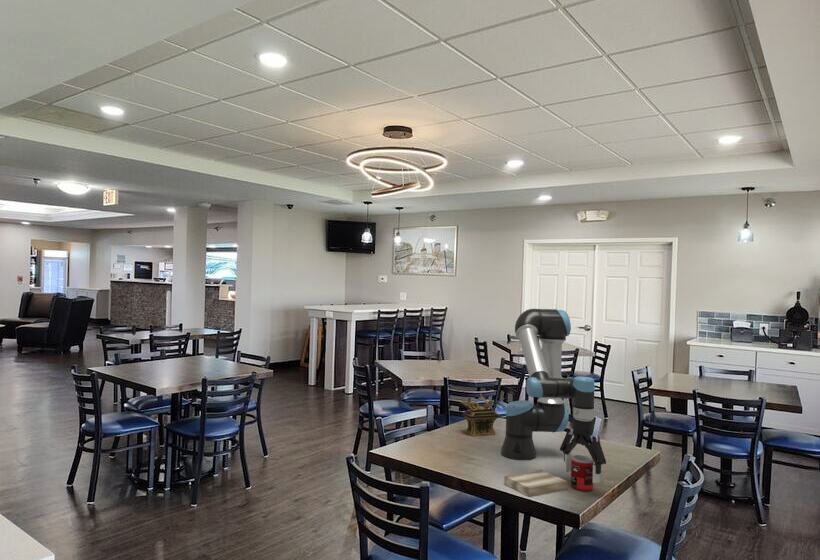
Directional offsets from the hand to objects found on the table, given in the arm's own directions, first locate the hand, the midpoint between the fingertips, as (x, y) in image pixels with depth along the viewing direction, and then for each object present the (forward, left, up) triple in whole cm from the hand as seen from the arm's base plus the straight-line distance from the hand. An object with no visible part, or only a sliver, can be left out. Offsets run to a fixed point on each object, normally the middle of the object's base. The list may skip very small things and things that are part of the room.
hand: (581, 476), depth 206 cm
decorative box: (-79, +11, -4) cm, 80 cm away
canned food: (0, 0, -4) cm, 4 cm away
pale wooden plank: (-8, -15, -4) cm, 18 cm away
